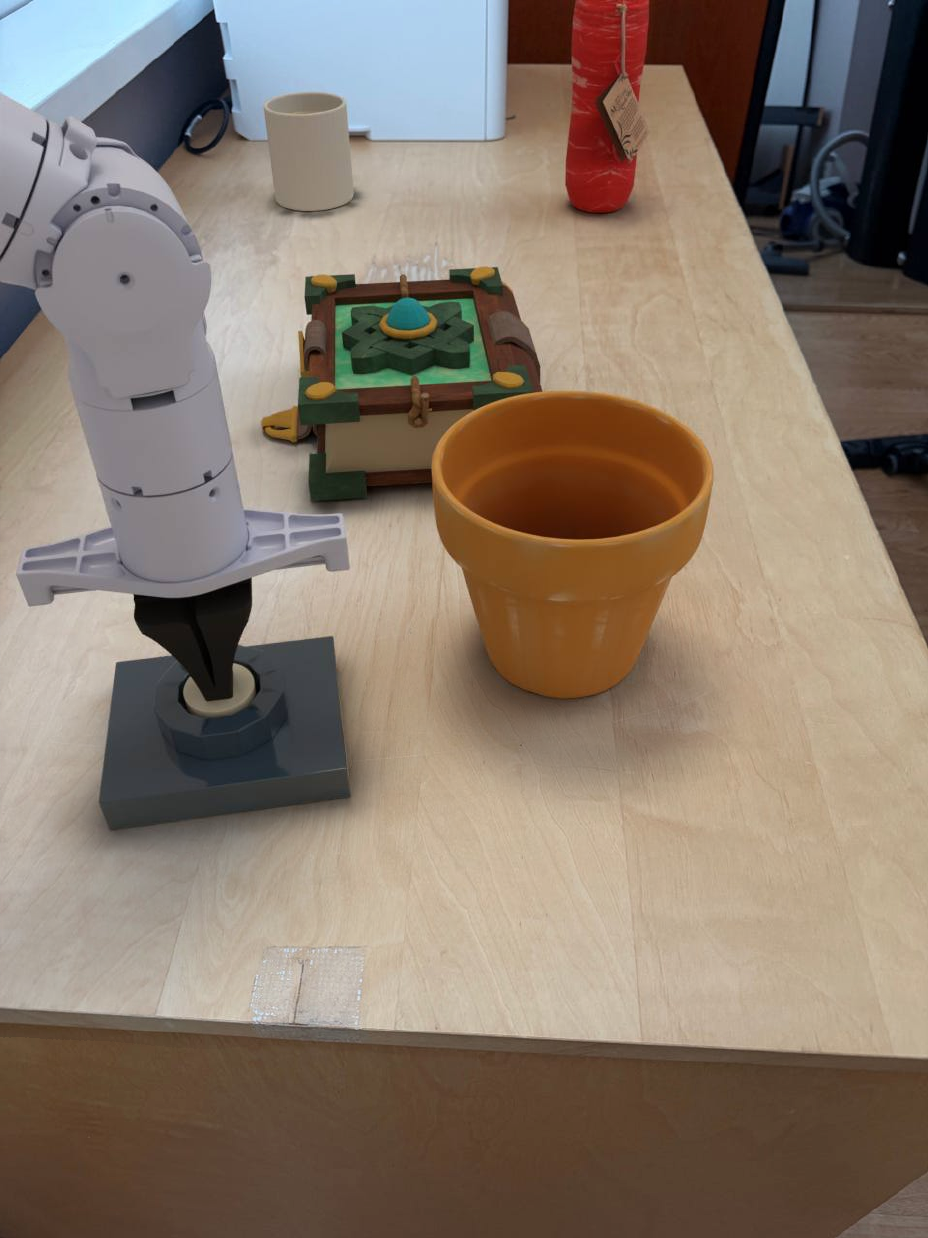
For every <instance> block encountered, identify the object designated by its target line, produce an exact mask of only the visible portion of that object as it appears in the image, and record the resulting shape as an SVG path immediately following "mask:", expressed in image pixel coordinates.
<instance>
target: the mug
mask: <svg viewBox="0 0 928 1238" xmlns="http://www.w3.org/2000/svg"><path fill="white" fill-rule="evenodd" d="M263 114H264V122H265V130H266V137H267V144H268V152H269V160H270V167H271V173H272V174H271V175H272V182H273V191H274V198H275V201H276V203H277V204H278V205H279V206H281V207H282V208H285V209H289V210H294V211H301V212H316V211H317V212H318V211H327V210H332V209H335V208H339V207H341V206H344V205H346V204H348V203H349V202H351V201H352V200H353V198H354V195H355V192H354V182H353V179H354V178H353V171H352V170H353V168H352V157H351V145H350V132H349V121H348V108H347V101H346V99H345V98H344V97H343V96H341V95H338V94H335V93H331V92H323V91H298V92H289V93H284V94H280V95H277V96H273V97H272V98H270V99H267V100H266V101H265V102H264V103H263Z"/></svg>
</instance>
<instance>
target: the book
mask: <svg viewBox="0 0 928 1238" xmlns="http://www.w3.org/2000/svg"><path fill="white" fill-rule="evenodd" d="M448 274H449V275H448V276H449V277H448V278H449V279H431V280H411V281H408V277H407V275H406V274H404V273H403V274H400V276H399V281H393V282H392V281H390V282H389V281H388V282H373V283H356V274H355V273H351V274H350V273H349V274H331V275H330V274H316V275H310V276H305V278H304V279H305V281H304V295H303V297H304V305H305V312H306V316H310V315H311V319H310V321H309V322H307V324H306V326H305V329H304V330H305V331H304V332H303V330H298V331H297V335H298V348H299V350H298V351H299V352H298V353H299V367H300V376H299V377H298V378H299V379H298V395H297V397H298V398H297V405H293V406H292V408H288V409H285V410H281V411H278V412H275V413H273V414H270V415H268V416H263V417H262V418H261V423H260V424H261V430H262V432H263V433H265V434H267V435H268V436H270V437H272V438H276V439H282V440H287V441H291V443H297V442H298V440H301V439H304V438H306V437H308V436H309V434H310V433H311V432H313V434H314V435H315V436H317V444H316V445H317V446H316V447H317V448H316V453H309V455H308V456H309V457H308V477H307V479H308V482H307V484H308V492H309V498H310V499H309V500H310V502H317V501H318V502H319V501H332V500H333V501H334V500H335V501H336V500H346V499H347V500H349V499H351V500H352V499H364V498H365V499H366V498H368V492H367V491H368V488H367V487H376V486H377V487H379V486H393V485H394V486H395V485H411V484H412V485H413V484H427V483H432V469H431V465H432V457H433V453H434V450H435V448H436V446H437V443H438V442H439V440H440V439H441V437H442V436H443V435H444V434H445V432H446V431H447V430H448V429H449V428H450V427H451V426H452V425H454V424H455V423H456V422H457V421H459V420H460V419H461V418H463V417H464V416H466V415H467V414H469V413H471V412H473V411H474V410H476V409H478V408H481V407H483V406H485V405H488V404H490V403H493V402H496V401H499V400H502V399H505V398H509V397H513V396H517V395H523V394H529V393H536V392H544V391H543V388H542V384H541V364H540V361H539V357H538V353H537V351H536V348H535V344H534V341H533V337H532V335H531V332H530V329H529V327H528V326H527V325H526V324H525V322H523V321H522V318H521V315H520V312H519V308H518V305H517V302H516V298H515V295H514V291H513V290H512V288H511V287H510V286H509V285H508V284H507V283H506V282H505V281H502V277H501V273H500V271H499V267H498V266H479V267H470V268H451V269H448ZM303 333H304V334H303ZM276 427H279V428H286V429H275V428H276Z"/></svg>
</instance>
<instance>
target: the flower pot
mask: <svg viewBox="0 0 928 1238" xmlns="http://www.w3.org/2000/svg"><path fill="white" fill-rule="evenodd" d="M431 469H432V482H431V483H432V497H433V498H432V499H433V508H434V517H435V525H436V529H437V533H438V537H439V540H440V541H441V543H442V545H443V547H444V549H445V550H446V552H447V554H448V555H449V556H450V558H452V559H453V561H454V562H455V563H456V564H457V565H458V566H459V567H460V568H461V570H462V573H463V578H464V581H465V585H466V589H467V592H468V595H469V598H470V601H471V605H472V608H473V612H474V615H475V618H476V621H477V624H478V627H479V630H480V634H481V637H482V640H483V644H484V646H485V647H484V648H485V649H486V652H487V655H488V658H489V660H490V662H491V664H492V666H493V667H494V668H495V670H496V671H497V672H498V673H499V674H500V675H501V676H502V677H503V678H504V679H505V680H506V681H508V682H509V683H511V684H512V685H514V686H516V687H517V688H520V689H522V690H524V691H527V692H531V693H534V694H538V695H540V696H543V697H547V698H556V699H577V698H584V697H589V696H593V695H597V694H600V693H603V692H605V691H607V690H610V689H611V688H612V687H614V686H616V685H618V684H619V683H620V682H622V681H623V680H624V679H625V678H626V677H627V676H628V675H629V673H631V671H632V670H633V668H634V666H635V664H636V663H637V661H638V658H639V656H640V654H641V651H642V649H643V647H644V644H645V642H646V640H647V637H648V635H649V633H650V631H651V628H652V626H653V624H654V621H655V619H656V616H657V614H658V612H659V609H660V606H661V605H662V602H663V600H664V598H665V595H666V593H667V590H668V587H669V586H670V582H671V580H672V577H674V576H675V575H677V574H678V573H679V572H680V571H681V570H682V569H683V568H685V567H686V565H687V564H689V562H690V561H691V560H692V558H693V557H694V555H695V554H696V552H697V551H698V549H699V546H700V544H701V542H702V539H703V536H704V531H705V528H706V523H707V519H708V515H709V510H710V509H709V508H710V503H711V498H712V492H713V487H714V479H715V478H714V477H715V475H714V474H715V473H714V472H715V471H714V464H713V460H712V457H711V455H710V452H709V450H708V448H707V447H706V444H705V443H704V442H703V441H702V439H701V438H700V437H699V436H698V435H697V434H696V432H694V431H693V430H692V429H691V428H690V427H688V426H687V425H686V424H685V423H683V422H682V421H680V420H679V419H677V418H675V417H674V416H672V415H671V414H669V413H667V412H665V411H663V410H661V409H658V408H656V407H654V406H651V405H649V404H647V403H644V402H641V401H638V400H636V399H631V398H627V397H625V396H621V395H618V394H617V395H616V394H612V393H611V394H610V393H605V392H597V391H590V390H589V391H587V390H547V391H545V390H544V391H543V392H536V393H529V394H523V395H517V396H513V397H509V398H505V399H502V400H499V401H496V402H493V403H490V404H488V405H485V406H483V407H481V408H478V409H476V410H474V411H473V412H471V413H469V414H467V415H466V416H464V417H463V418H461V419H460V420H459V421H457V422H456V423H455V424H454V425H452V426H451V427H450V428H449V429H448V430H447V431H446V432H445V434H444V435H443V436H442V437H441V439H440V440H439V442H438V443H437V446H436V448H435V450H434V453H433V457H432V465H431Z"/></svg>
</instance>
